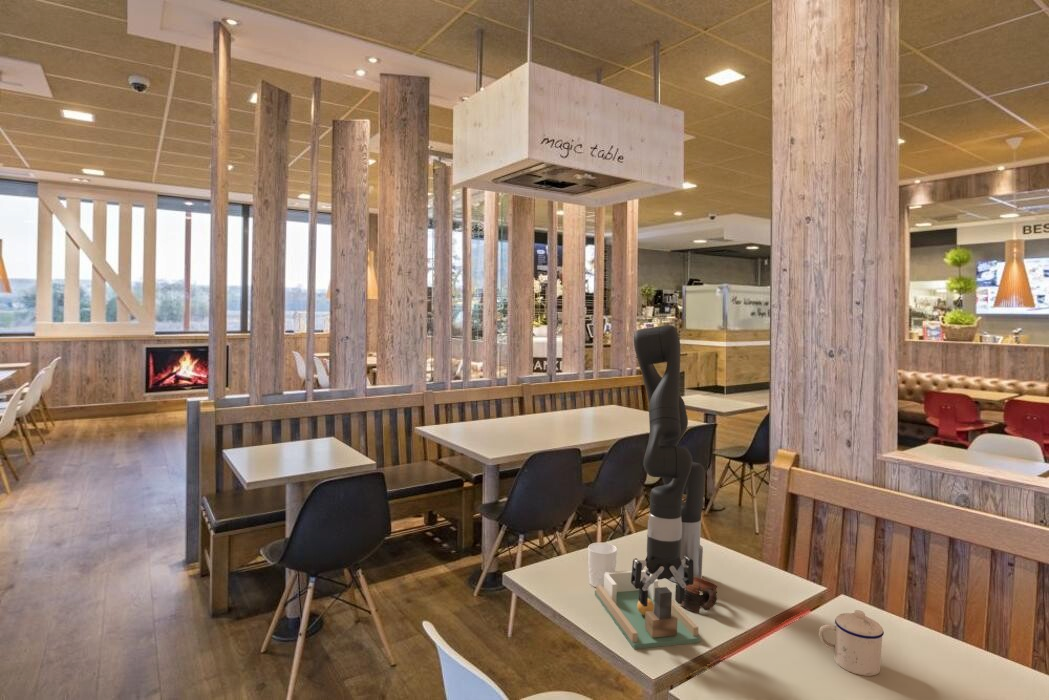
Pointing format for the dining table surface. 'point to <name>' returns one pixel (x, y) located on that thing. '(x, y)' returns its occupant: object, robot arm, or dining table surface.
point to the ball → (644, 609)
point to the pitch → (624, 612)
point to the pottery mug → (695, 599)
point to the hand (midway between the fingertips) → (661, 603)
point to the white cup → (600, 562)
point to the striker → (661, 615)
